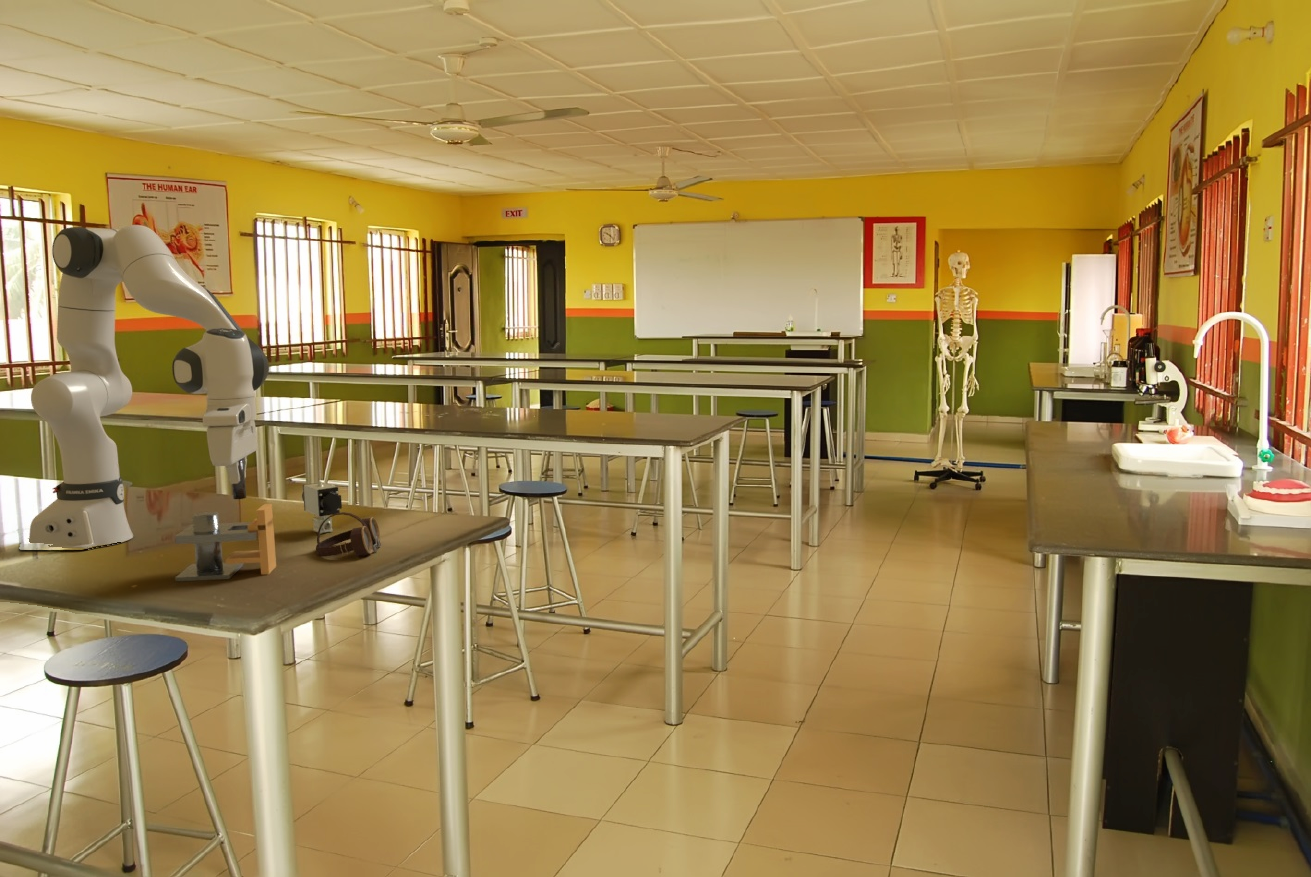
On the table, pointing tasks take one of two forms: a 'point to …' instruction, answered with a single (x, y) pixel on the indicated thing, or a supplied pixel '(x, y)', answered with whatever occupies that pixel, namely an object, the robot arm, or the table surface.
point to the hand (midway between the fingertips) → (237, 481)
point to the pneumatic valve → (321, 504)
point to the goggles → (359, 537)
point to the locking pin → (240, 483)
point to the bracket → (260, 542)
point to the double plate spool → (211, 546)
